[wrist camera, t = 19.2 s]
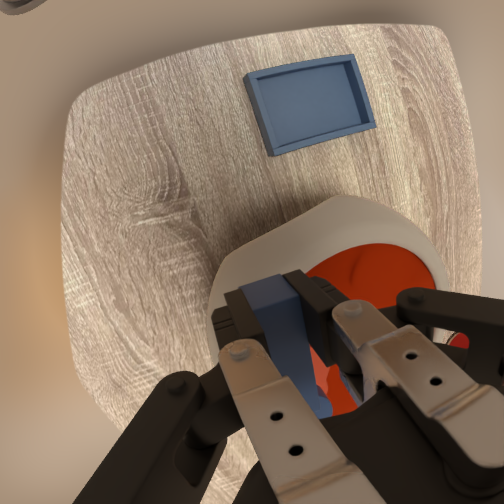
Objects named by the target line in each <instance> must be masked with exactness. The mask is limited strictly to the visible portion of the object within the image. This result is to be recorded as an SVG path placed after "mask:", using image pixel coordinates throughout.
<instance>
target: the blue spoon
mask: <svg viewBox="0 0 504 504" xmlns="http://www.w3.org/2000/svg"><path fill="white" fill-rule="evenodd" d="M239 288H241V289H242V291H243V293H244V295H245V297H246V299H247V301H248V303H249V304H250V306H251V308H252V310H253V312H254V314H255V316H256V318H257V320H258V321H259V323H260V325H261V327H262V329H263V331H264V333H265V337H266V341H267V344H268V348H269V352H270V355H271V359H272V362H273V363H274V365H275V367H276V368H277V370H278V371H279V373H280V374H281V376H282V377H283V376H285V375H287V376H288V377H289V378H290V379H291V381H292V382H293V383H294V385H295V386H296V388H297V389H298V391H299V392H300V394H301V395H302V396H303V398H304V399H305V401H306V402H307V404H308V405H309V407H310V408H311V409H312V411H313V412H314V414H315V415H316V417H317V418H318V419H322V418H327V417H331V416H332V413H333V407H332V404H331V402H330V401H329V399H328V398H327V396H326V395H325V393H324V392H323V390H322V389H321V387H319V386H318V385H317V384H316V378H315V373H314V367H313V362H312V356H311V351H310V345H309V343H308V338H307V333H306V328H305V322H304V317H303V312H302V307H301V302H300V297H299V294H298V293H297V292H296V291H295V290H294V289H293V288H292V286H291V285H290V284H289V283H288V282H287V281H286V280H285V279H284V278H283V276H282V275H281V274H276V275H273V276H270V277H267V278H264V279H261V280H258V281H255V282H252V283H249V284H246V285H242V286H239V287H238V289H239Z"/></svg>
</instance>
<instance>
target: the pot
mask: <svg viewBox="0 0 504 504" xmlns="http://www.w3.org/2000/svg"><path fill="white" fill-rule="evenodd" d="M297 269H300V270H301V271H303V272H304V273H305V274H306V275H307V276H308V277H309V278H310V277H313V276H317V277H321V278H324V279H326V280H327V281H329V282H330V283H331V284H332V285H333V286H335V287H336V289H338V290H339V291H341V292H342V293H343V294H344V295H345V296H347V297H348V298H349V299H350V300H364V301H367V302H369V303H371V304H372V305H373V306H374V307H375V308H376V309H380V308H385V307H390V306H395V305H396V297H397V295H398V294H399V293H400V292H401V291H403V290H405V289H408V288H412V287H423V288H429V289H436V290H442V291H448V292H451V291H450V282H449V277H448V273H447V269H446V266H445V264H444V261H443V259H442V257H441V255H440V253H439V252H438V250H437V249H436V247H435V246H434V244H433V243H432V242H431V240H430V239H429V238H428V237H427V235H426V234H425V233H424V232H423V231H422V230H421V229H420V228H419V227H418V226H417V225H415V224H414V223H413V222H412V221H411V220H409V219H408V218H407V217H405V216H404V215H402V214H401V213H399V212H398V211H396V210H394V209H392V208H390V207H388V206H386V205H384V204H381V203H379V202H376V201H373V200H370V199H366V198H362V197H358V196H351V195H340V194H339V195H335V196H333V197H331V198H329V199H327V200H325V201H324V202H322V203H320V204H319V205H317V206H315V207H313V208H312V209H310V210H308V211H306V212H305V213H303V214H301V215H299V216H298V217H296V218H294V219H292V220H290V221H288V222H287V223H285V224H283V225H281V226H279V227H277V228H275V229H273V230H271V231H269V232H268V233H266V234H264V235H262V236H260V237H258V238H256V239H254V240H252V241H250V242H248V243H246V244H245V245H243V246H241V247H239V248H238V249H236V250H234V251H233V252H231V253H230V254H229V255H227V256H226V257H225V258H224V260H223V262H222V264H221V265H220V267H219V270H218V272H217V274H216V277H215V279H214V282H213V285H212V288H211V292H210V296H209V301H208V308H207V339H208V346H209V351H210V355H211V359H212V362H213V365H214V367H215V366H216V365H217V363H218V362H219V361H218V354H219V352H220V351H219V347H218V343H217V340H216V336H215V332H214V328H213V324H212V320H211V315H212V313H213V311H214V309H217V308H220V307H223V306H226V305H227V304H226V301H225V298H224V295H223V294H224V293H227V292H230V291H233V290H236V289H238V287H239V286H242V285H246V284H249V283H252V282H255V281H258V280H261V279H264V278H267V277H270V276H273V275H276V274H281V275H282V274H285V273H288V272H291V271H294V270H297ZM445 331H446V330H444V329H439V328H435V327H434V337H433V342H437V343H442V340H443V337H444V334H445ZM326 381H327V384H328V391H327V394H326V396H327V398H328V399H329V401H330V402H331V404H332V407H333V413H332V416H336V415H340V414H345V413H349V412H352V411H354V410H355V409H357V408H358V406H357V404H356V403H355V401H354V400H353V398H352V396H351V395H350V393H349V392H348V390H347V388H346V387H345V385H344V384H343V382H342V380H341V379H340V375H339V367H338V365H337V364H335V365H333V366H330V369H329V372H328V375H327V378H326Z"/></svg>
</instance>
